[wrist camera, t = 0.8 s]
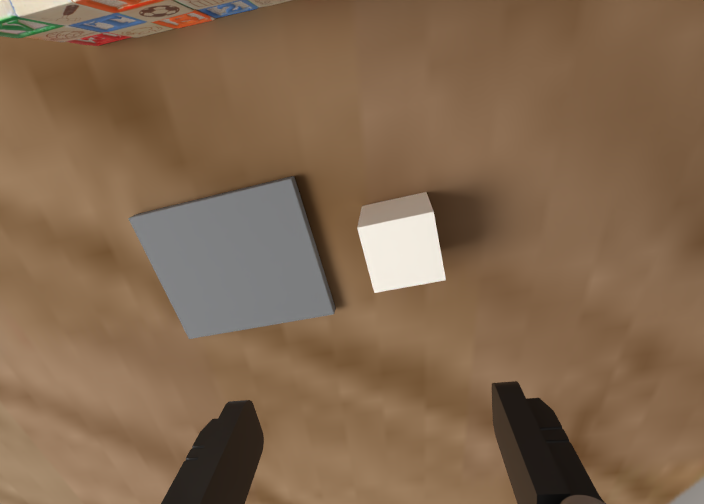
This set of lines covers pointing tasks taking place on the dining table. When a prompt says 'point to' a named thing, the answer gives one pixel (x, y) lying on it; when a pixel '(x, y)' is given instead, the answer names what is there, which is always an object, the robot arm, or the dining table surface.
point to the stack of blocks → (111, 17)
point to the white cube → (401, 243)
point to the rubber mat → (237, 259)
